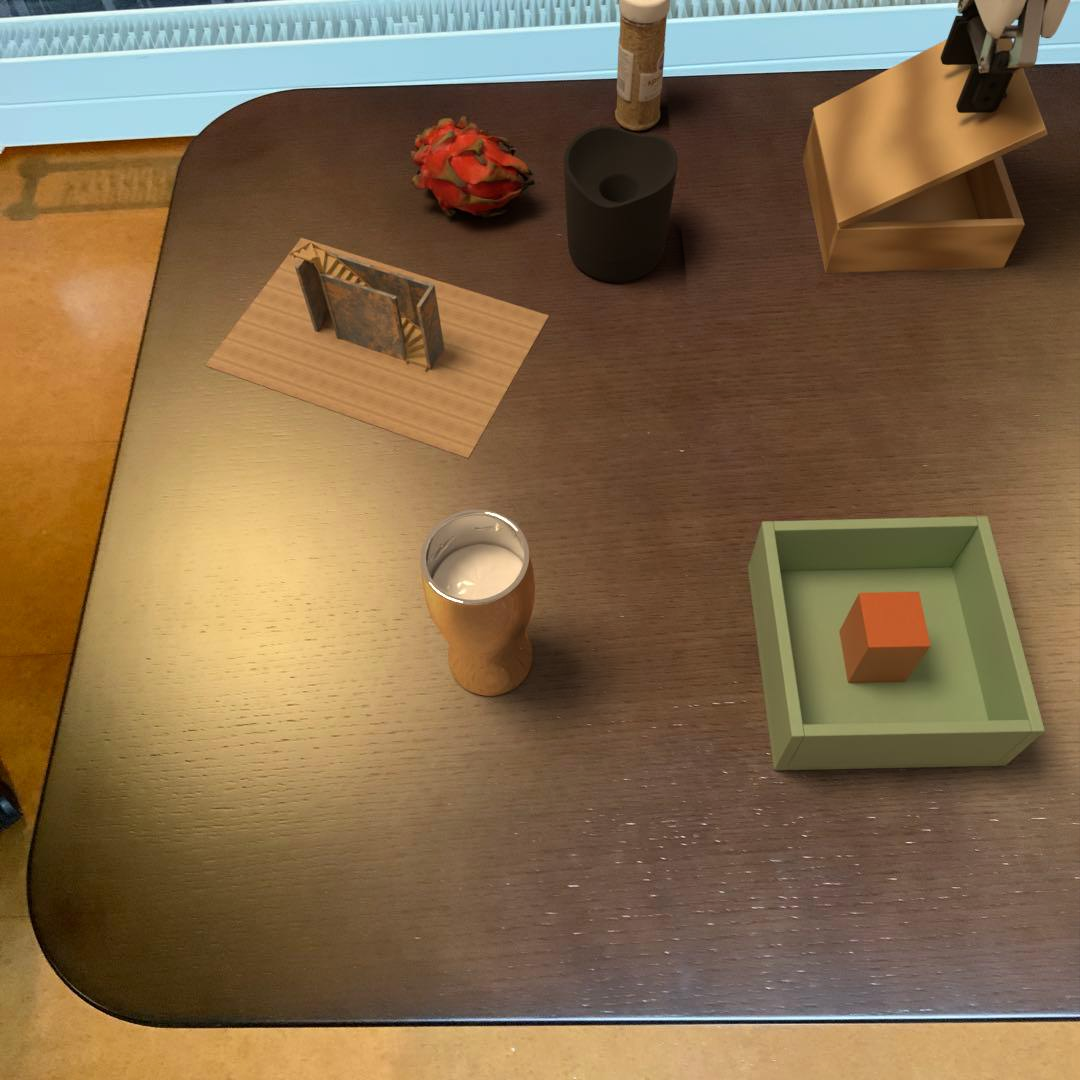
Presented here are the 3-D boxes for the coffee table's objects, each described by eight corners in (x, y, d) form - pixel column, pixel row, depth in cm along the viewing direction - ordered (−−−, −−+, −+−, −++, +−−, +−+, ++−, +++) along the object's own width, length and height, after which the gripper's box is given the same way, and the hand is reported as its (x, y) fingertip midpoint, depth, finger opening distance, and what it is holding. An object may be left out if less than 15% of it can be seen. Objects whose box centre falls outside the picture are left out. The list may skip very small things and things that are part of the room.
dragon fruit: (412, 192, 102) (527, 233, 101) (383, 201, 94) (507, 245, 94) (434, 101, 98) (554, 143, 98) (405, 103, 91) (534, 149, 90)
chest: (964, 161, 100) (985, 109, 95) (1000, 274, 93) (1025, 224, 88) (800, 166, 100) (813, 114, 95) (823, 279, 93) (838, 229, 88)
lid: (1002, 17, 87) (986, -34, 83) (1048, 135, 80) (1032, 84, 76) (815, 113, 95) (792, 71, 91) (840, 228, 88) (817, 187, 84)
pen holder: (631, 199, 99) (637, 108, 90) (688, 261, 94) (700, 172, 86) (545, 237, 96) (542, 148, 88) (599, 303, 92) (602, 215, 84)
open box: (956, 563, 78) (987, 515, 72) (1005, 765, 71) (1045, 731, 65) (747, 567, 79) (761, 520, 73) (773, 770, 71) (791, 736, 65)
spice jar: (659, 133, 103) (671, 4, 91) (613, 132, 103) (618, 3, 92) (660, 103, 105) (671, -27, 94) (614, 102, 106) (620, -28, 94)
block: (895, 629, 75) (919, 591, 70) (905, 682, 73) (931, 646, 68) (838, 630, 75) (858, 592, 70) (847, 683, 73) (868, 647, 68)
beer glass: (427, 684, 74) (397, 586, 62) (464, 601, 78) (443, 492, 65) (518, 715, 73) (508, 622, 60) (552, 630, 76) (549, 524, 63)
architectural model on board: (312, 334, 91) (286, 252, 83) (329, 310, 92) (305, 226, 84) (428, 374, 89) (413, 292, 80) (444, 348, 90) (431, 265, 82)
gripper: (1162, -81, 65) (1040, 158, 80) (1085, -222, 73) (988, 19, 89) (1041, -79, 65) (943, 159, 80) (978, -221, 73) (900, 20, 89)
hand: (967, 83), depth 84 cm, fingers closed on lid, 5 cm apart
